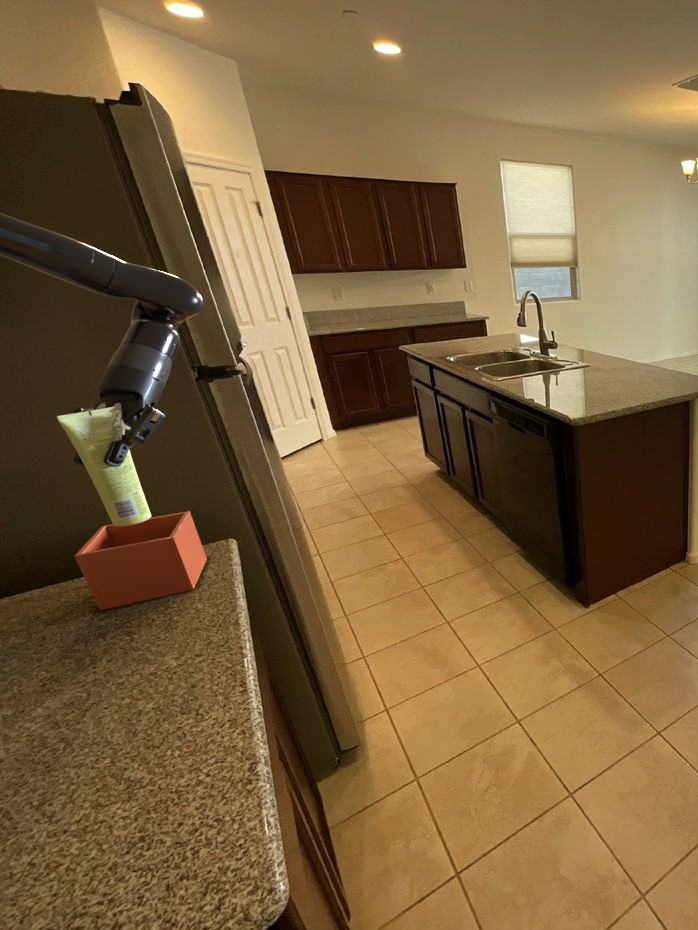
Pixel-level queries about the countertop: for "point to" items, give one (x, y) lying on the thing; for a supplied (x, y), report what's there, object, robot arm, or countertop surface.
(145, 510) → the tube
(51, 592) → the countertop surface
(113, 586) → the trash bin
